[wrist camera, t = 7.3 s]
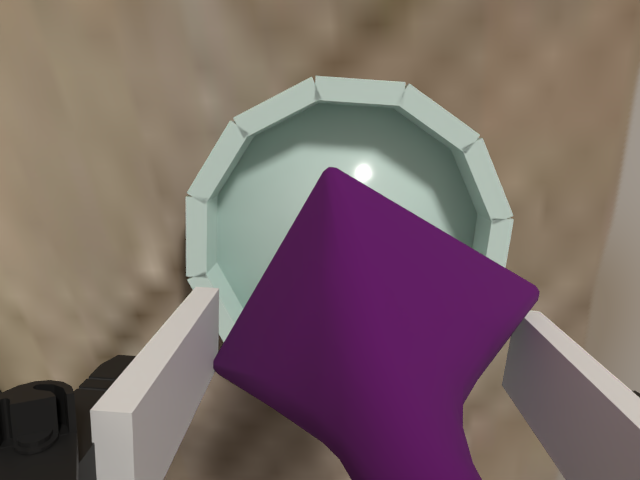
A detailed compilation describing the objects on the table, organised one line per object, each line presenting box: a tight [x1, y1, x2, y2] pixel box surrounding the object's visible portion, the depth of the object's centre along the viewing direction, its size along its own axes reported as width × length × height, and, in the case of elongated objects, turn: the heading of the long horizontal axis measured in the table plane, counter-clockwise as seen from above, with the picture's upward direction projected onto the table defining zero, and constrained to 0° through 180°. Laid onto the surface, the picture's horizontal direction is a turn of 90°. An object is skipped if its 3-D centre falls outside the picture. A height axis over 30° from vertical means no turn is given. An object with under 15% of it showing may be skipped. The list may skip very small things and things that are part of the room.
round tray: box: [186, 76, 514, 342], centre depth 27 cm, size 18×18×4 cm
